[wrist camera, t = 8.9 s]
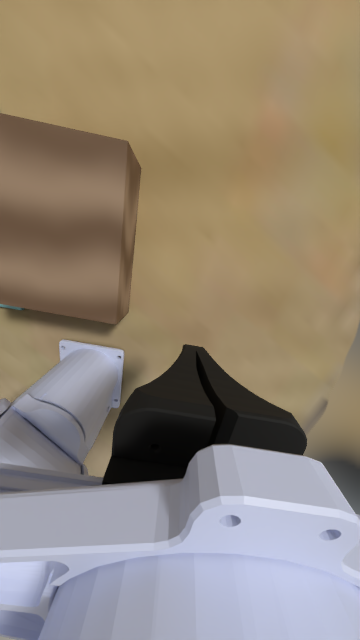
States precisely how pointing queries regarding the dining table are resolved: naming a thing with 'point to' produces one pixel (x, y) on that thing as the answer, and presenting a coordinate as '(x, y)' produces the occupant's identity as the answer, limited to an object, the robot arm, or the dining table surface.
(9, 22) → the dining table surface
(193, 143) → the dining table surface
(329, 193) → the dining table surface
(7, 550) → the robot arm
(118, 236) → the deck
